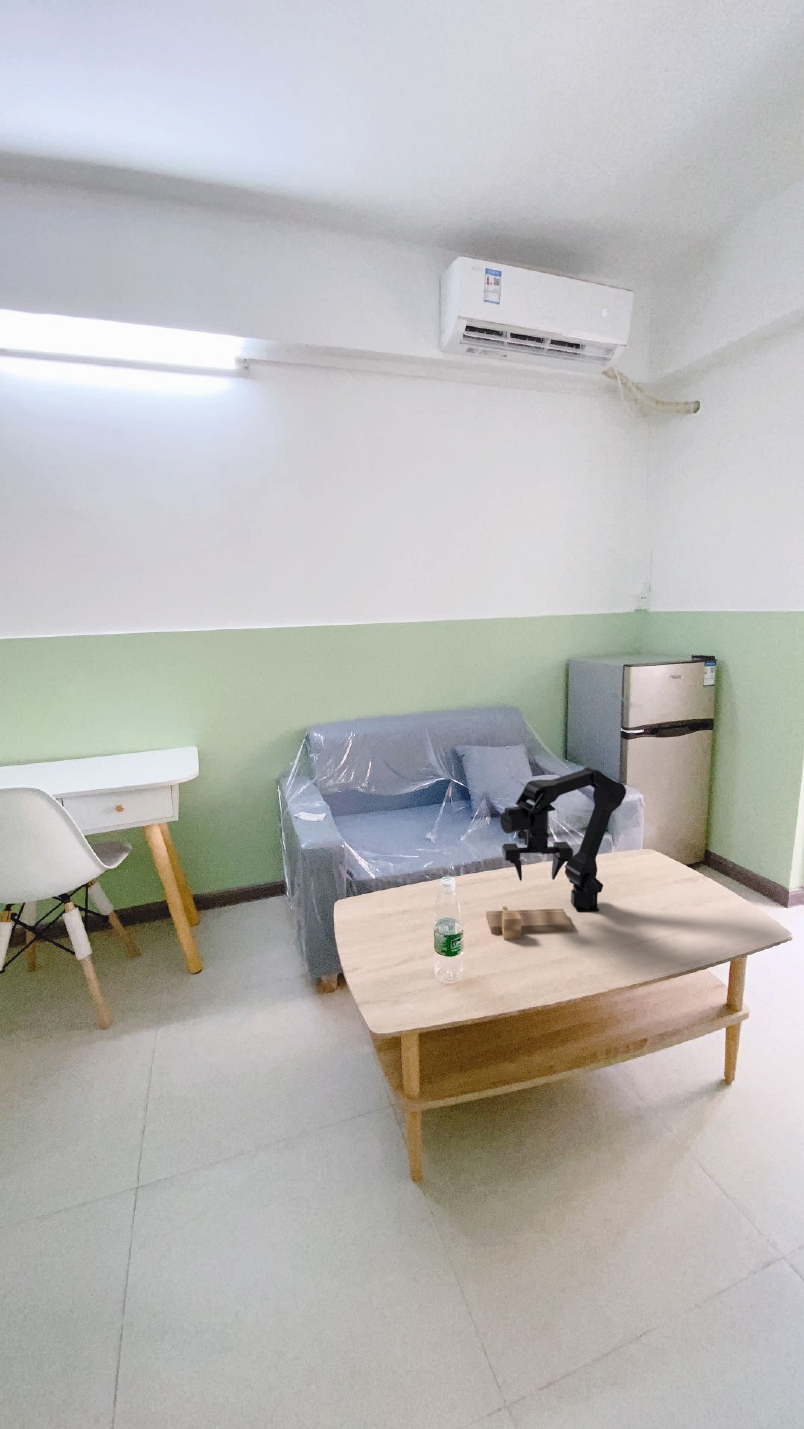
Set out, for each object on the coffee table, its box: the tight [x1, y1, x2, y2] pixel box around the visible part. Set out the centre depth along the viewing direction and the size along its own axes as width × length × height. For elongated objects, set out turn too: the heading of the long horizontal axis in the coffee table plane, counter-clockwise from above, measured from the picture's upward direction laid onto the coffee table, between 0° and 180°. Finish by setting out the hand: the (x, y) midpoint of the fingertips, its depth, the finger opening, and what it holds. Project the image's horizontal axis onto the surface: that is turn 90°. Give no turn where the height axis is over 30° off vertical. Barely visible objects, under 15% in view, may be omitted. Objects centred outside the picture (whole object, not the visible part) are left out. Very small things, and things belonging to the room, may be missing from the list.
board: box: [485, 908, 573, 935], centre depth 152 cm, size 22×8×2 cm, turn 91°
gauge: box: [501, 905, 522, 941], centre depth 149 cm, size 4×11×6 cm, turn 1°
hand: (536, 879), depth 152 cm, fingers open, 9 cm apart
